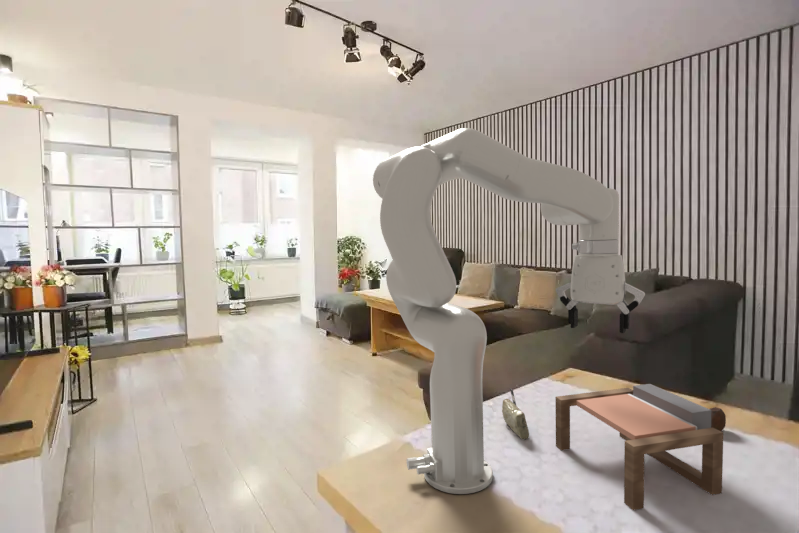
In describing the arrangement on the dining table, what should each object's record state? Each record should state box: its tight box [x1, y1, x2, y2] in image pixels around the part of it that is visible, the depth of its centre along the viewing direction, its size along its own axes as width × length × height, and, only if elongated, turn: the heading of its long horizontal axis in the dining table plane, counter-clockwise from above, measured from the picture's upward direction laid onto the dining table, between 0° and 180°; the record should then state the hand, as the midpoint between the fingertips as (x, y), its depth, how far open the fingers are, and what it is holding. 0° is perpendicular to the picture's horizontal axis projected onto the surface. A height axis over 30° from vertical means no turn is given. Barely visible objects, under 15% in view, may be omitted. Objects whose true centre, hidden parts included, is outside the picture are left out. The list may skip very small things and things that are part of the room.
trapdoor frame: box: [555, 387, 724, 511], centre depth 82 cm, size 17×22×10 cm
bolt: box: [709, 406, 727, 432], centre depth 102 cm, size 6×5×15 cm
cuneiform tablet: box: [501, 388, 530, 440], centre depth 101 cm, size 7×4×12 cm
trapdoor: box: [576, 383, 711, 440], centre depth 83 cm, size 16×16×5 cm
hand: (597, 329), depth 94 cm, fingers open, 9 cm apart
